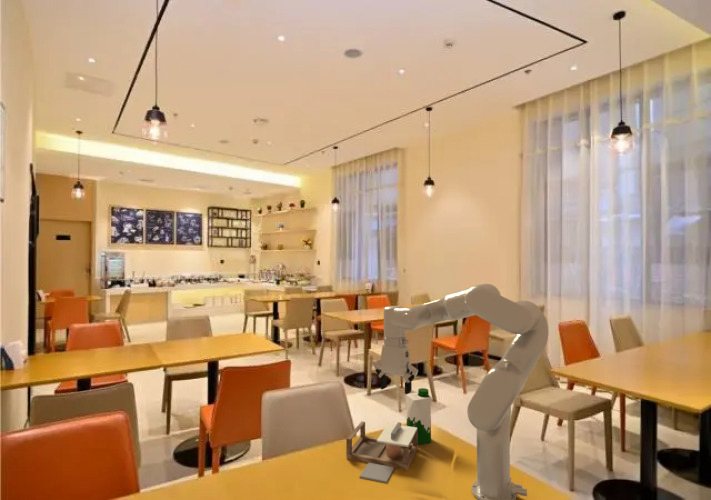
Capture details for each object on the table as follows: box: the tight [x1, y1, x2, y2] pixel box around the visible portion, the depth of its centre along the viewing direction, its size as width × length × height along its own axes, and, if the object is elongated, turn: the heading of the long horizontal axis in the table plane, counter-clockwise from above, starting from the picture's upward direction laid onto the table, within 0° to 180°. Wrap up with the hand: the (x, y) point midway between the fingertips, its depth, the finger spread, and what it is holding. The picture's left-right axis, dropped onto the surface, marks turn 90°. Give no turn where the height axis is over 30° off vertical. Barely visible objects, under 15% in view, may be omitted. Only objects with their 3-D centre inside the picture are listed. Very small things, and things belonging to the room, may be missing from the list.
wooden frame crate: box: [345, 420, 419, 471], centre depth 145 cm, size 22×16×8 cm
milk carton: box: [405, 387, 433, 446], centre depth 155 cm, size 9×9×20 cm
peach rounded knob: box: [386, 444, 401, 459], centre depth 143 cm, size 6×6×7 cm
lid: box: [377, 422, 417, 447], centre depth 143 cm, size 11×15×3 cm
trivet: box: [359, 462, 395, 484], centre depth 131 cm, size 9×9×2 cm
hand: (395, 390), depth 140 cm, fingers open, 9 cm apart
